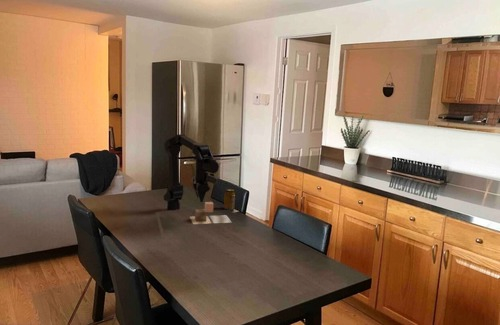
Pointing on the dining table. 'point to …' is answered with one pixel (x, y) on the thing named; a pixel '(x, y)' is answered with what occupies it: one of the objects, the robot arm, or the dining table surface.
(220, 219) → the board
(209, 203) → the salmon orange block
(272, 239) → the dining table surface
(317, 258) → the dining table surface
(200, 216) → the walnut block
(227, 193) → the condiment
